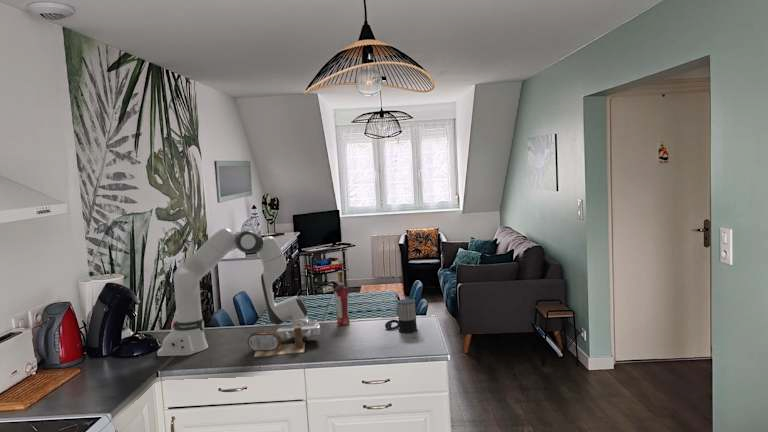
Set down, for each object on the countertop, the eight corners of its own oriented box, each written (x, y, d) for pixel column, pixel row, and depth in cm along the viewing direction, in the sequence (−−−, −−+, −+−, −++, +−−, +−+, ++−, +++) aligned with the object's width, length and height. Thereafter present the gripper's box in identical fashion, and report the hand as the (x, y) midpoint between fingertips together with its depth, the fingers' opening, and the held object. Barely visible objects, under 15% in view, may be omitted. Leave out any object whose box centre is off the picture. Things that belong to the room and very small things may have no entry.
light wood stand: (253, 357, 253) (252, 335, 253) (257, 347, 267) (255, 326, 266) (304, 352, 256) (302, 330, 255) (305, 343, 270) (303, 322, 269)
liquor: (334, 324, 300) (330, 271, 297) (347, 321, 303) (343, 269, 301) (339, 327, 293) (336, 273, 291) (352, 324, 297) (349, 271, 294)
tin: (281, 348, 262) (280, 330, 261) (280, 351, 258) (278, 332, 258) (249, 349, 263) (248, 331, 262) (247, 352, 260) (246, 333, 259)
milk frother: (417, 333, 275) (416, 302, 274) (384, 335, 275) (383, 304, 274) (416, 325, 289) (415, 296, 288) (385, 326, 290) (383, 297, 288)
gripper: (276, 323, 273) (274, 331, 260) (320, 319, 275) (319, 327, 262) (277, 336, 274) (275, 344, 260) (320, 332, 276) (320, 340, 262)
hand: (298, 336), depth 261 cm, fingers open, 7 cm apart
